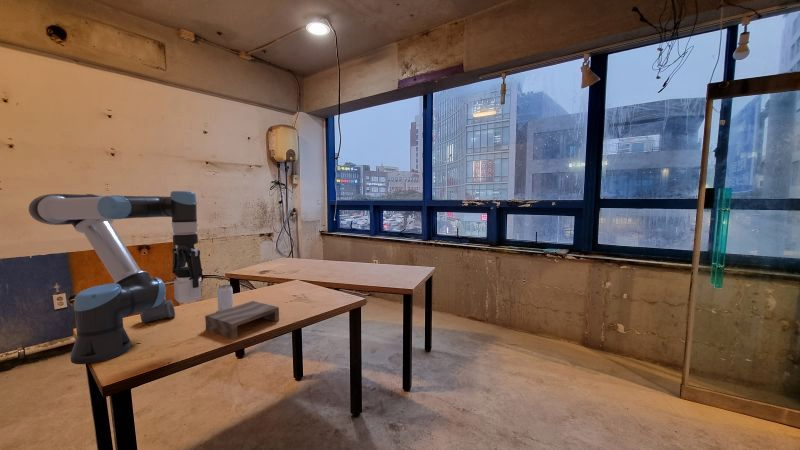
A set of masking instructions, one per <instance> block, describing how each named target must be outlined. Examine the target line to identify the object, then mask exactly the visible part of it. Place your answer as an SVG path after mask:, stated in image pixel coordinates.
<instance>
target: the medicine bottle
mask: <svg viewBox="0 0 800 450" xmlns="http://www.w3.org/2000/svg"><path fill="white" fill-rule="evenodd" d="M189 278H191V277H190V273H189V270H188V266H185V267H181V268H179V269H177V279H178V280H176V279H175V280H173V294H174V297H173V298H174V300H176V301H177V302H178V303H179V304H182V303H188V302H193V301H198V300H202V299H203V296H202V295H203V294H202V290H203V289H202V280H201V279H199V296H195V297H190V282H189Z"/></svg>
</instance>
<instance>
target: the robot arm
mask: <svg viewBox="0 0 800 450" xmlns="http://www.w3.org/2000/svg"><path fill="white" fill-rule="evenodd" d="M197 205H198V203H197V197H196V193H195V192H194V191H193V190H192V191H189V190H188V191H187V190H172V191H171V192H170V196H160V195H158V196H157V195H156V196H155V195H154V196H150V195H149V196H148V195H144V196H143V195H141V196H140V195H137V196H136V195H113V194H112V195H105V196H103V195H100V194H93V193H92V194H91V193H88V194H87V193H86V194H73V193H72V194H71V193H67V194H66V193H49V194H43V195H41V196H40V195H39V196H38V197H35V198H34V199H33V200H31V202H30V203H29V206H28V214H30V216H31V217H32V219H34V220H35V221H37V222H39V223H42V224H45V225H53V226H63V225H64V226H65V225H66V226H67V225H72V227H73V228H74V229H75V230H76V232H78V233H81V234H84V236H85V237H86V238H87V240H88V242H89V243H90V245H91V246H92V248H93V250H94V252H95V253H96V255H97V256H98V258H99V259H100V261H101V263H102V264H103V266H104V267H105V269H106V271H107V272H108V273H109V275H110V276H111V278H112V280H113V283H112V282H111V283H104V284H102V285H101V284H100V285H95V286H94V285H93V286H91V287H89V288H86V289H83V290H81V291H79V292H78V293H77V294H76V295H75V296H74V304H73V310H74V318H75V330H76V331H75V332H76V338H75V341H74V345H73V347H72V349H71V353H70V362H71V363H72V364H74V365H88V364H94V363H95V364H96V363H99V362H103V361H107V360H109V359H110V360H111V359H113V358H117V357H118V356H121V355H123V354H125V353H127V352H128V351H130V349H131V348H132V342H131V338H130V336H129V335H128V333H127V332H126V330H125V328H124V318H125V317H129V316H133V315H136V314H138V313H139V314H140V312H142V311H145V310H149V309H151V308H153V307H156V306H158V305H160V304H161V303H162V302H163V300H164V298H165V297H166V293H167V290H166V284H165V283H164V281H163V280H162V279H161V278H159V277H151V275H150V273H149V272H148V271H146V270H141V267H139V265H138V263H137V262H136V261H135V259H134V257H133V255H132V254H131V252H130V251H129V250H128V248H127V246H126V245H125V243H124V242H123V240H122V238H121V237H120V235H119V233H118V232H117V230H116V229H115V227H114V226H113V223H114V220H123V219H142V218H143V219H146V218H171V232H172V234H173V235H172V244H173V245H174V246H177V247H173V248H172V268H171V269H172V274H174V276H175V277H176V279H175V280H178V279H177V269H179V268H181V267H188V270H189V273H190V277H191V278H189V282H190V297H195V296H199V280H200V278H202V277H203V276H204V275H203V268H202V261H201V250H200V249H196V248H195V245H196V244H198V243H199V240H198V239H199V238H198V237H199V235H198V234H197V232H198V226H199V224H198V214H197V212H198V210H197ZM186 265H187V266H186Z"/></svg>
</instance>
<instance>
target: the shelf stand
mask: <svg viewBox="0 0 800 450" xmlns="http://www.w3.org/2000/svg"><path fill="white" fill-rule="evenodd" d="M204 317H205V321H204V322H205V330H206V331H208V332H211V333H214V334H216V335H220V336H223V337H226V338H228V339H230V340H234V339H236V338H238V326H240V325H243V324H246V323H249V322H251V321H255V320H257V319H260V318H261V319H265V320H268V321H272V322H275V323H276V322H279V320H280V307H279V306H275V305H272V304H267V303H262V302H258V301H254V300H251V301H248V302H244V303H241V304H238V305H236V306H233V307H232V308H228V309H225V310H222V311H217V312H213V313H209V314H207V315H205V316H204Z"/></svg>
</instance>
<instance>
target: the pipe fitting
mask: <svg viewBox="0 0 800 450" xmlns="http://www.w3.org/2000/svg"><path fill="white" fill-rule="evenodd" d="M139 316H140V321H141V323H143V324H147V323H150V322H151V323H152V322H153V321H156V320H159V319H164V318H168V319H169V318H170V319H171V318H172V319H173V318H175V317H176V312H175V306H174V303H173V301H172V300H171V299H168V300H167V297H166V296H165V298H164V300H163V302H162V303H161V304H160V305H158V306H156V307H153V308H151V309H149V310H145V311H142V312H139Z"/></svg>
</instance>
